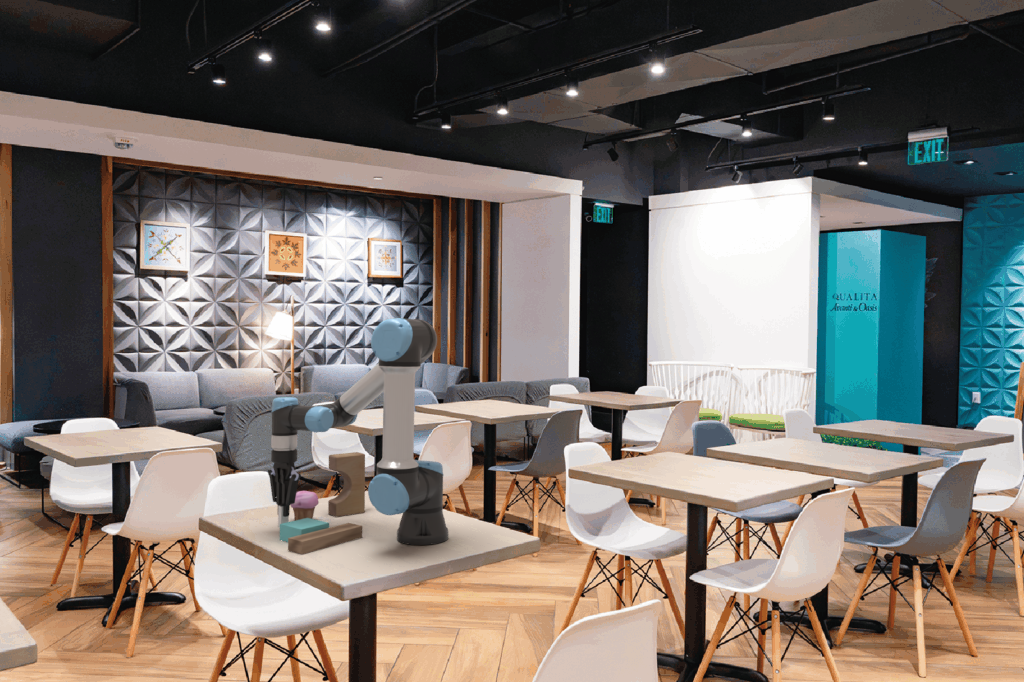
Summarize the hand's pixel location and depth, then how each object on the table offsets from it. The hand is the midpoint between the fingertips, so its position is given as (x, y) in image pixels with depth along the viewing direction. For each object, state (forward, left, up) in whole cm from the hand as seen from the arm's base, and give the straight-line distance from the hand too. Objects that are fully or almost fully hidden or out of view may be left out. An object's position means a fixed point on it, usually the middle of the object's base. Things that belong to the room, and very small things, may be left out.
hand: (283, 526), depth 229 cm
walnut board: (-19, 0, -2) cm, 20 cm away
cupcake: (+7, -13, -2) cm, 15 cm away
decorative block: (+5, -29, -2) cm, 30 cm away
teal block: (-10, 0, -2) cm, 11 cm away
